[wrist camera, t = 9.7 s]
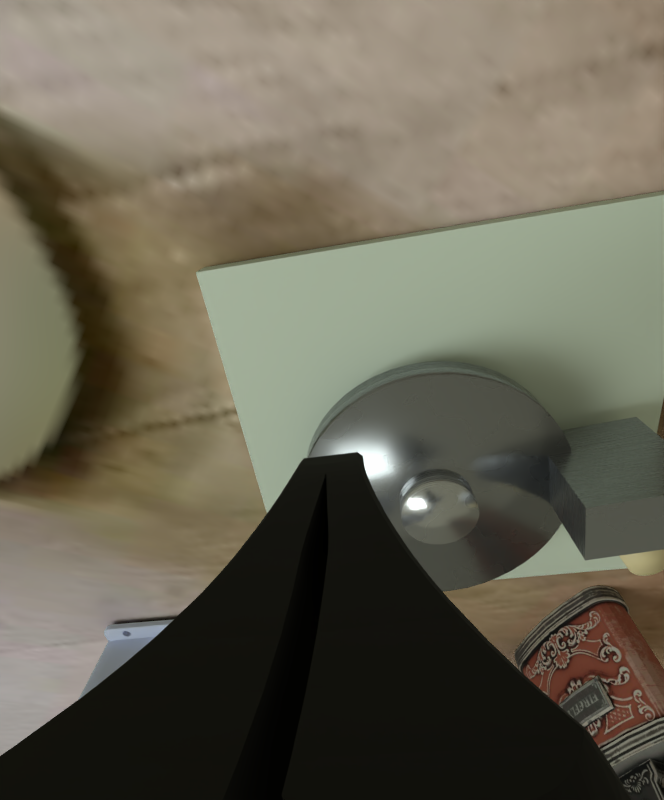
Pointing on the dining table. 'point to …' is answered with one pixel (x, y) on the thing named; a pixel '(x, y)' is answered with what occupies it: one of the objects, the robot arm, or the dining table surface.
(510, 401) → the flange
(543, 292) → the board
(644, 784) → the lighter
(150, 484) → the dining table surface
